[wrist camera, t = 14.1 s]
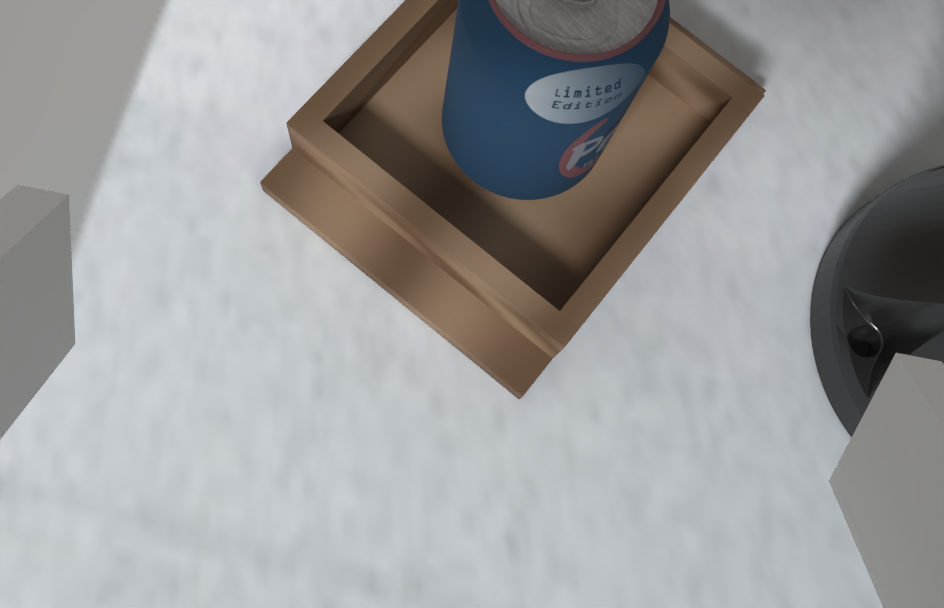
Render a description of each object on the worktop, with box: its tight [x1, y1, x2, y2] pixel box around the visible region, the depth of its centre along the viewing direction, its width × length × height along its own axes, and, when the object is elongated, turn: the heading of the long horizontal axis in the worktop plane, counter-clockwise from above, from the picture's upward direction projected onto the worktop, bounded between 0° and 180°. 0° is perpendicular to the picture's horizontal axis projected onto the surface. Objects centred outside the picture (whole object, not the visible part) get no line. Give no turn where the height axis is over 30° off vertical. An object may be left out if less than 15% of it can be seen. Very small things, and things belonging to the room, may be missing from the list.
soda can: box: [442, 0, 670, 200], centre depth 33 cm, size 7×7×12 cm
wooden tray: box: [260, 0, 766, 399], centre depth 38 cm, size 14×18×4 cm
